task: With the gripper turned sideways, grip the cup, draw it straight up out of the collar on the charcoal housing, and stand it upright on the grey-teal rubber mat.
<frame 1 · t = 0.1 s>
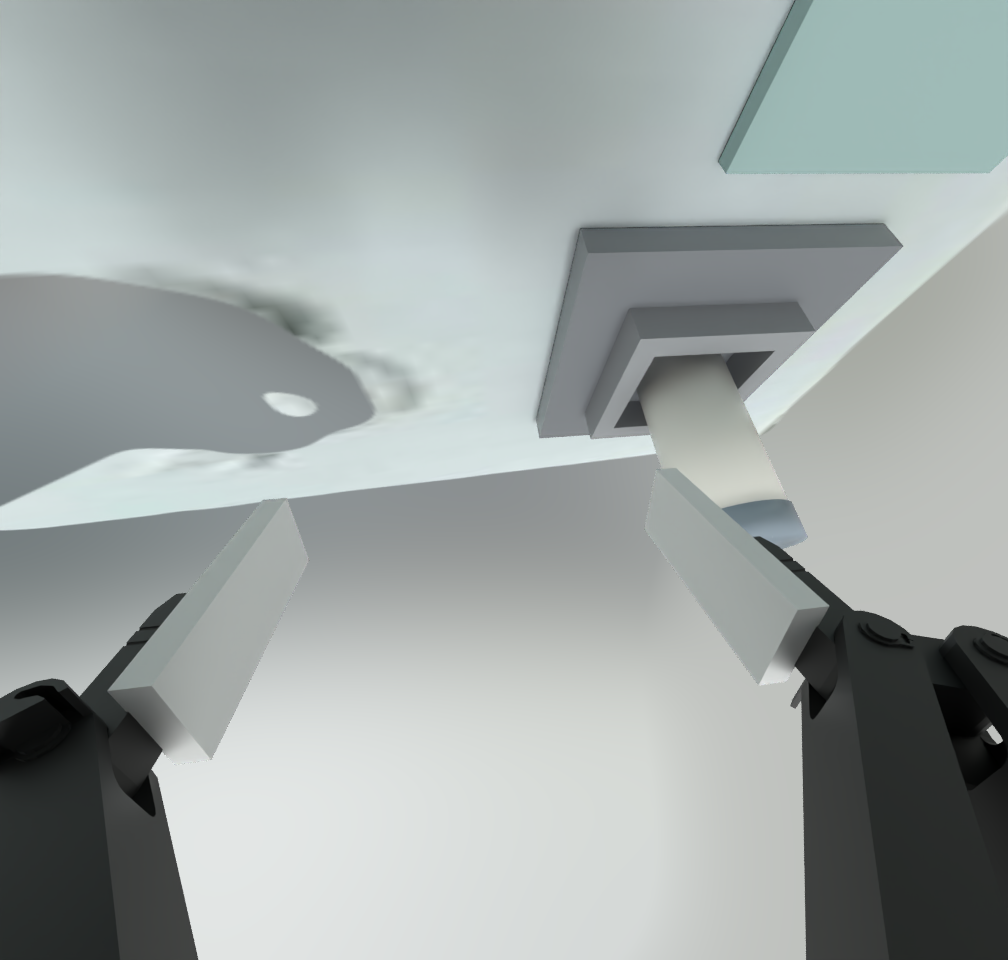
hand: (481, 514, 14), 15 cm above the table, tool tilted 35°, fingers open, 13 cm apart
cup: (674, 367, 28), point 2 cm above the table, touching housing
housing: (666, 346, 29), on the table
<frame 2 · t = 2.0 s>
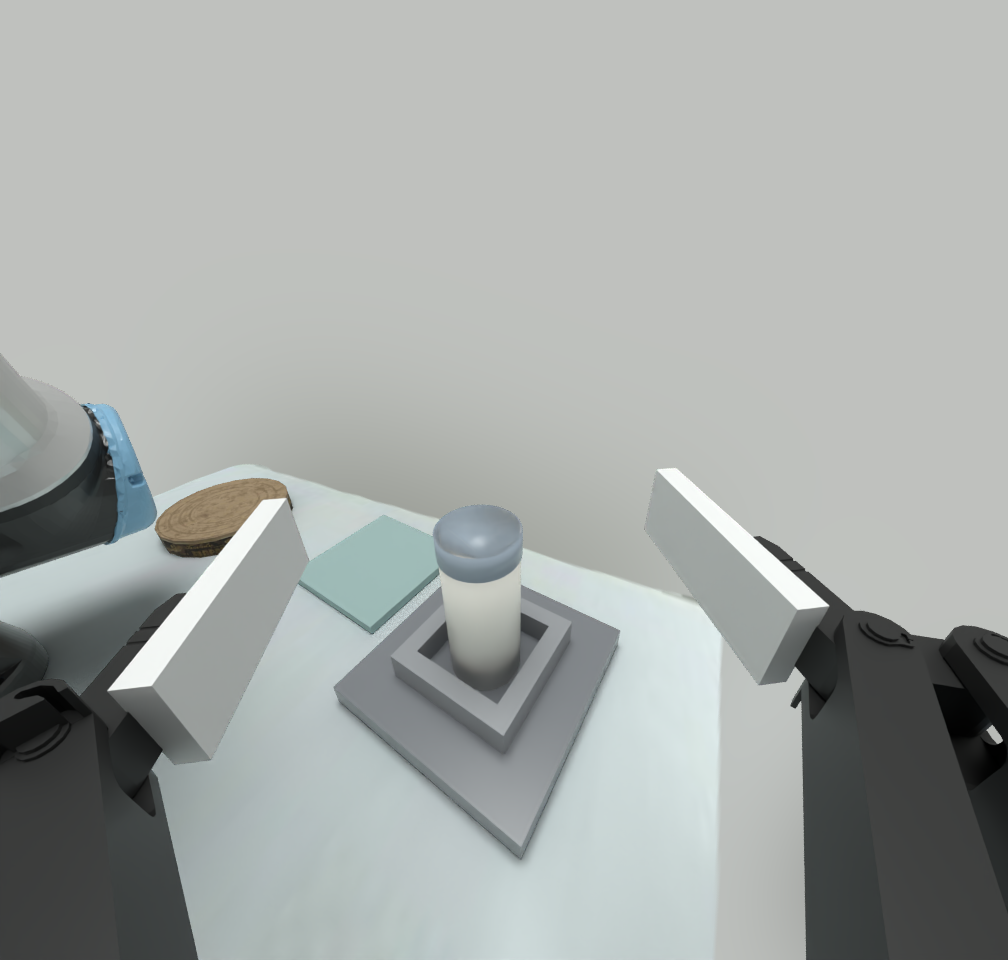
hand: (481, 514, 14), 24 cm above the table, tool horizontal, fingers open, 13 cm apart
wood slice coaster: (234, 523, 55), on the table
mat: (379, 566, 46), on the table
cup: (486, 657, 33), point 2 cm above the table, touching housing
housing: (486, 671, 34), on the table
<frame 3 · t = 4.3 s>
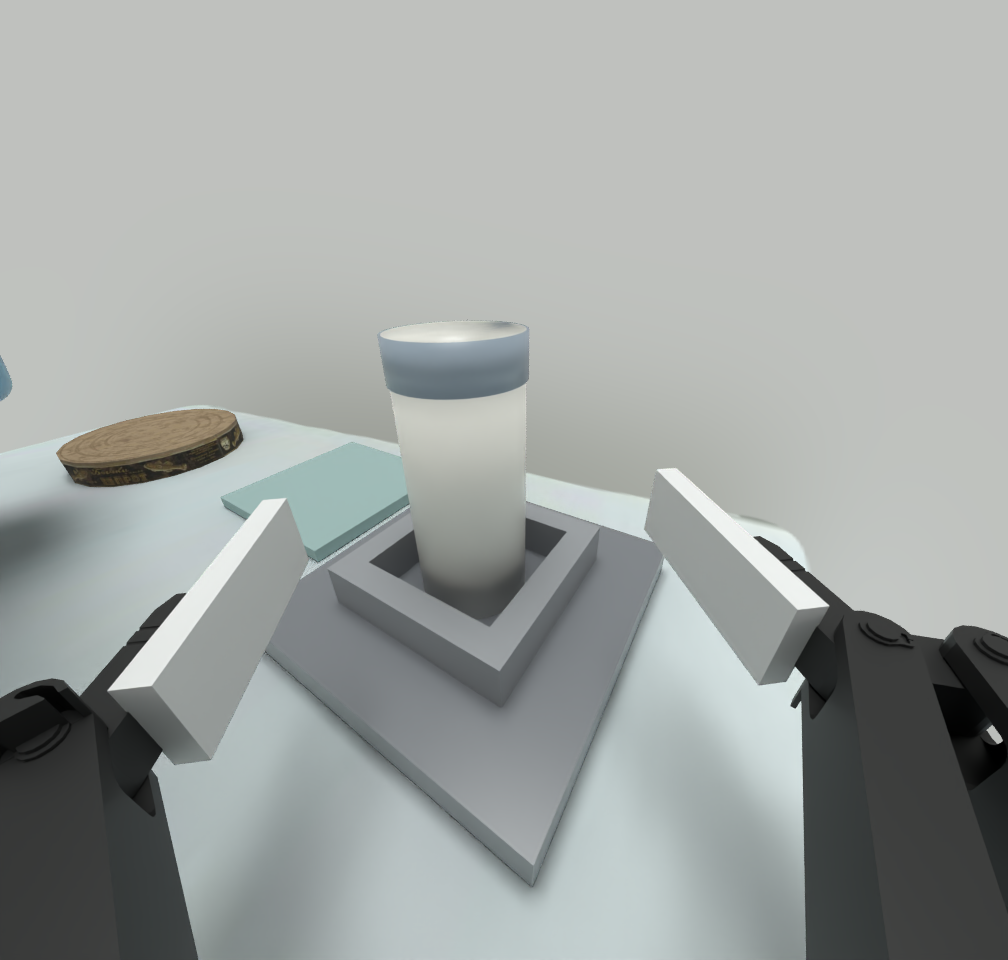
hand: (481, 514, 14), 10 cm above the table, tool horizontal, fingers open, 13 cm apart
wood slice coaster: (167, 456, 45), on the table
mat: (340, 492, 36), on the table
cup: (474, 578, 23), point 2 cm above the table, touching housing
housing: (476, 602, 24), on the table
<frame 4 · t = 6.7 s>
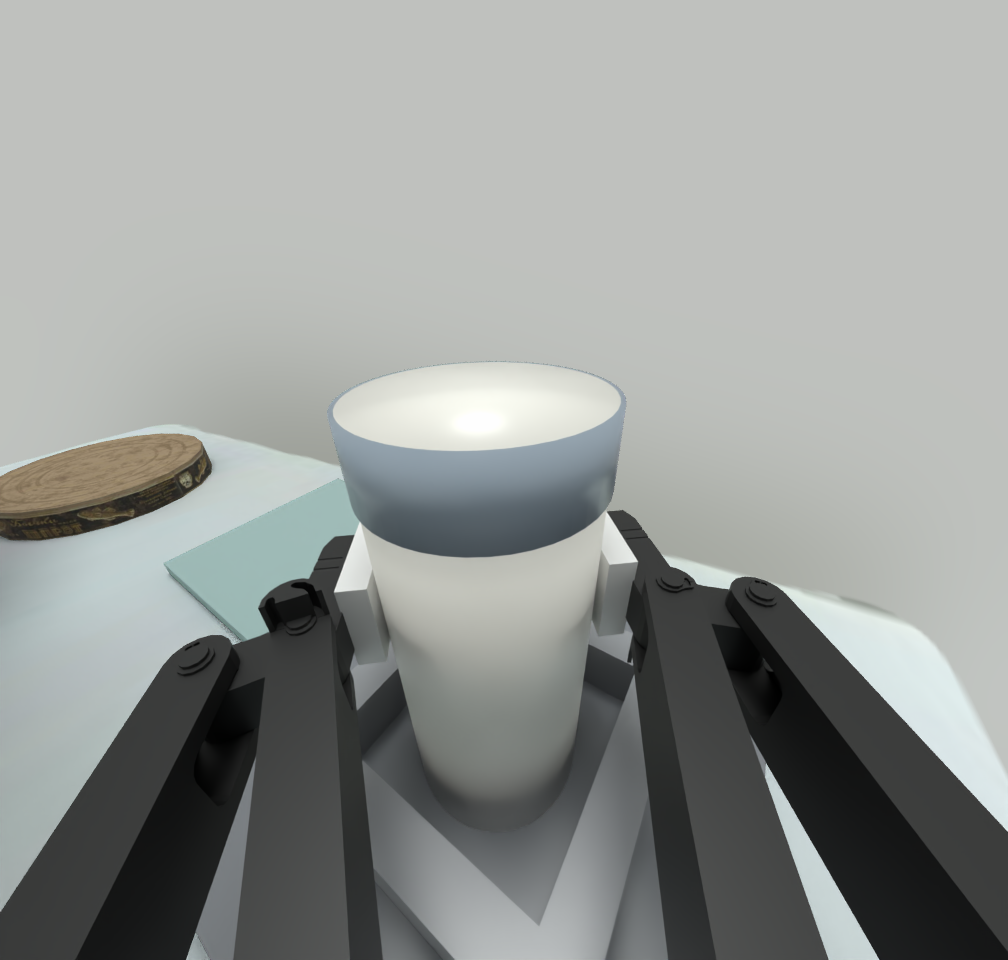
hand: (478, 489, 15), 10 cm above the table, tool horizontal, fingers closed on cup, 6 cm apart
wood slice coaster: (119, 494, 38), on the table
mat: (318, 552, 28), on the table
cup: (497, 734, 15), point 2 cm above the table, touching gripper, housing
housing: (499, 759, 16), on the table
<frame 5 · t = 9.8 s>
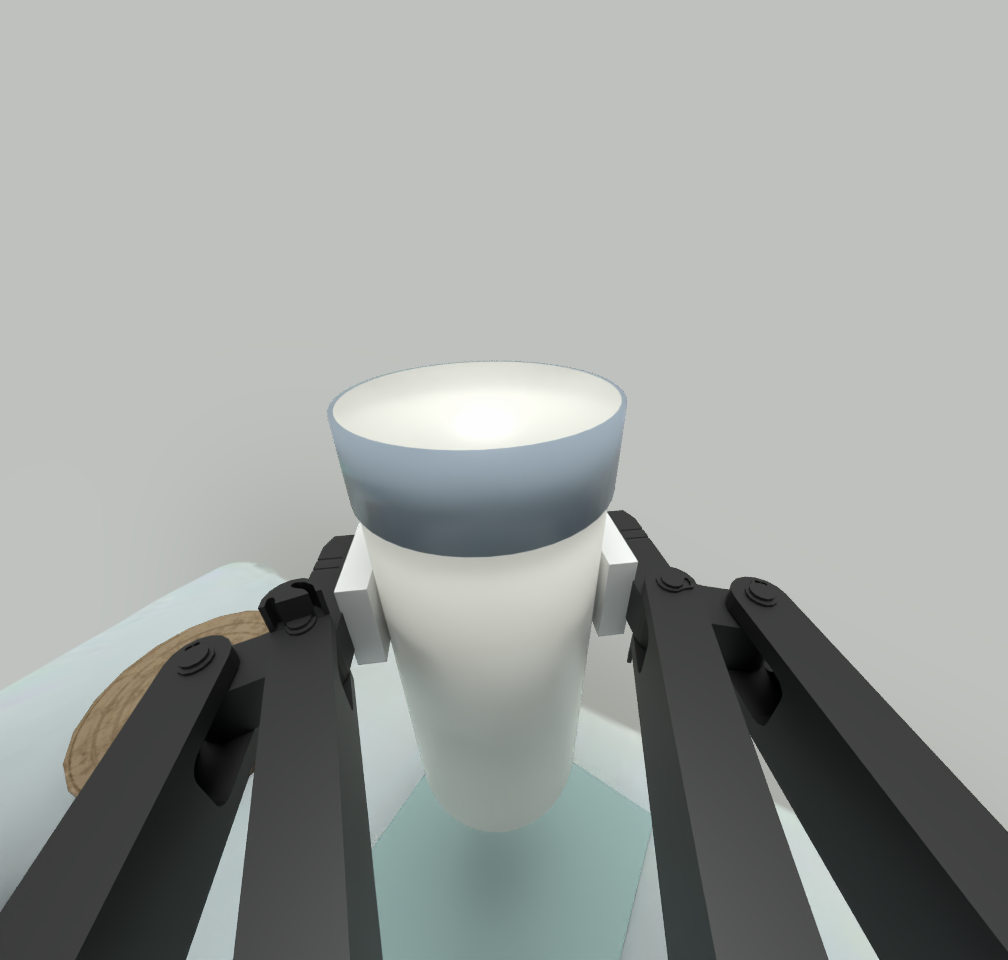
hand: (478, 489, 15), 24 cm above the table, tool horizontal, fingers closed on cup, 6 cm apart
wood slice coaster: (217, 710, 32), on the table
mat: (502, 867, 23), on the table
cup: (498, 734, 15), point 15 cm above the table, touching gripper
when the fingers open (11 cm above the table, at t = 13.1 s): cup drops 1 cm, resting on mat.
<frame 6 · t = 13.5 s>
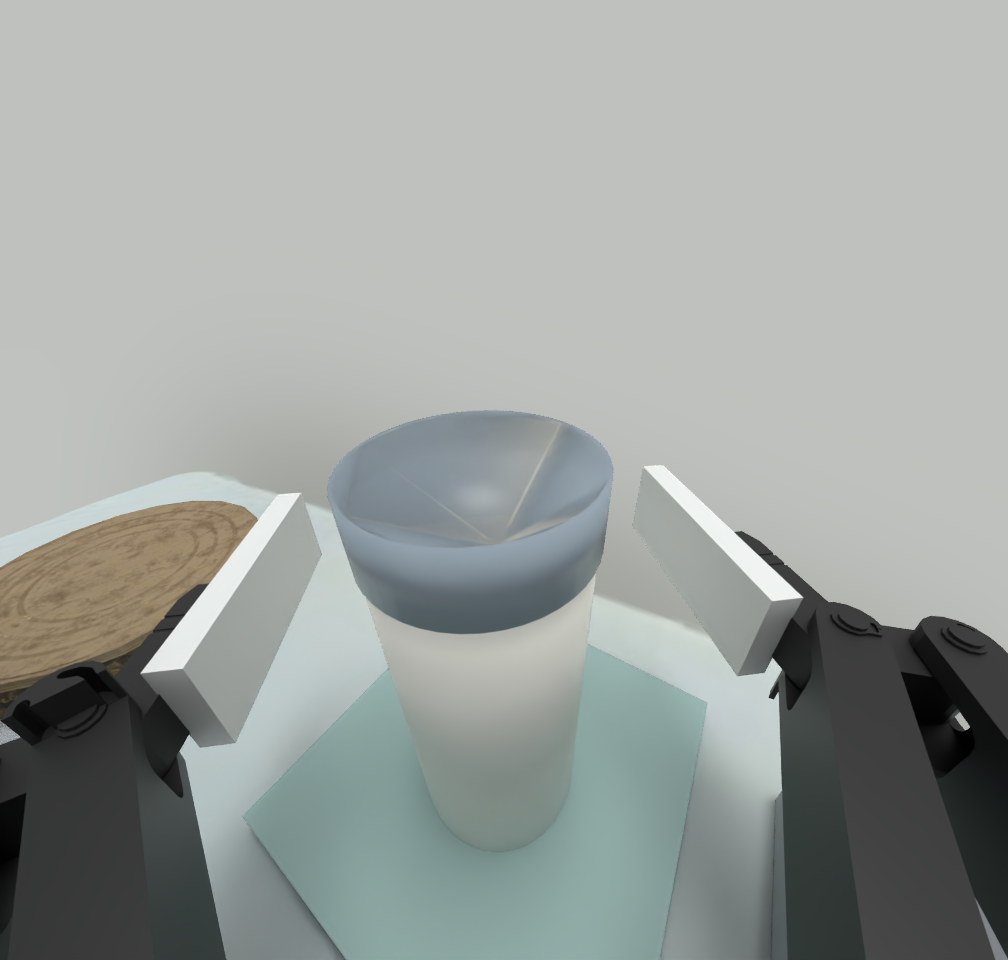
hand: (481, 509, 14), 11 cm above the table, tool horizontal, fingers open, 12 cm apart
wood slice coaster: (142, 603, 26), on the table
mat: (499, 765, 16), on the table
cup: (499, 754, 16), point 1 cm above the table, touching mat
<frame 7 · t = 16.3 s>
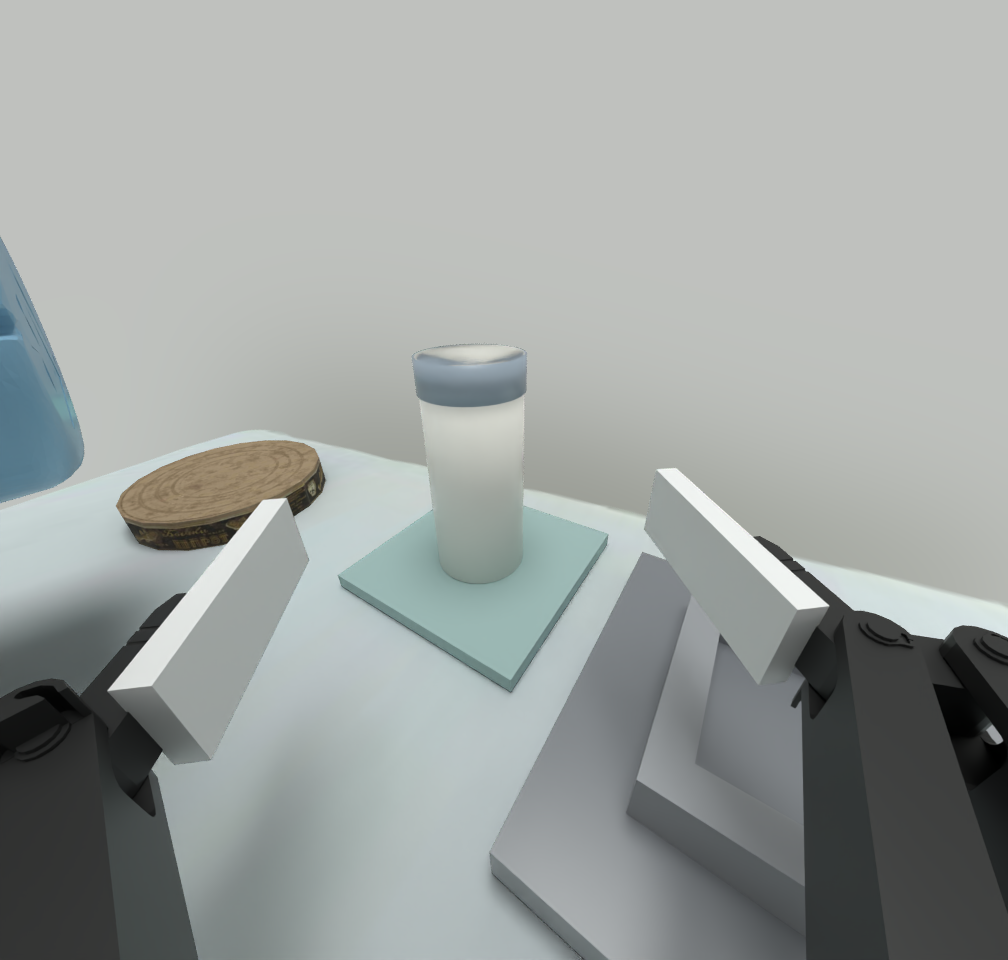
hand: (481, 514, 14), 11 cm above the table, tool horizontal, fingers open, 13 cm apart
wood slice coaster: (240, 502, 37), on the table
mat: (481, 563, 28), on the table
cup: (481, 553, 27), point 1 cm above the table, touching mat
housing: (792, 784, 16), on the table
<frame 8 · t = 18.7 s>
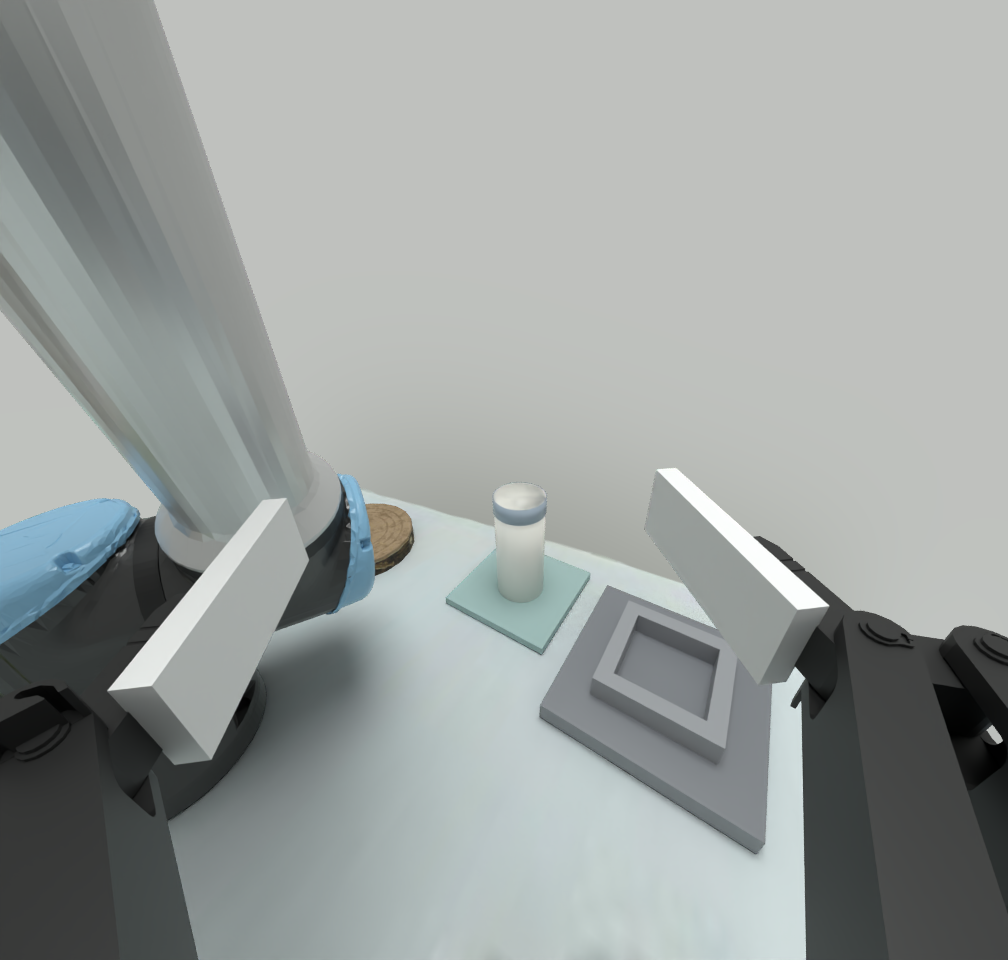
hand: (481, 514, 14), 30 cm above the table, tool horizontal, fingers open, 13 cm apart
wood slice coaster: (363, 547, 60), on the table
mat: (520, 590, 51), on the table
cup: (520, 585, 50), point 1 cm above the table, touching mat
housing: (659, 688, 39), on the table
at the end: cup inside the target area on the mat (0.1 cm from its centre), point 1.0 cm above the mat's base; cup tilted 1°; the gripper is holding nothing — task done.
